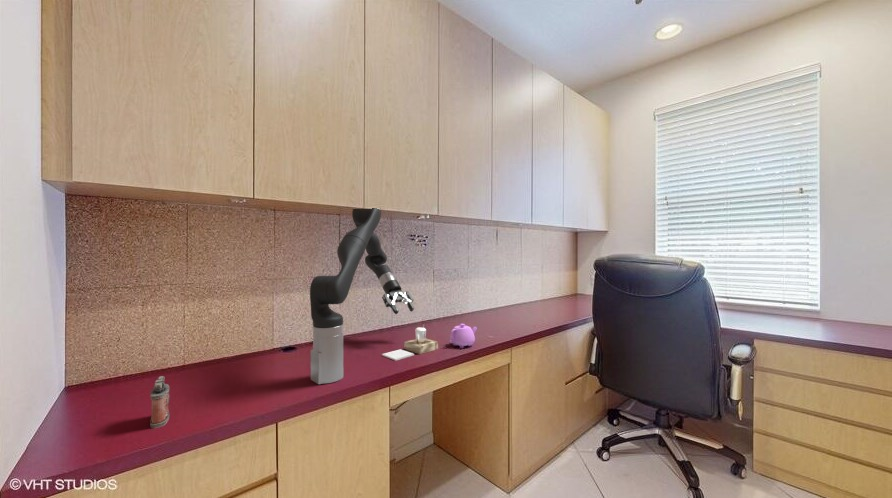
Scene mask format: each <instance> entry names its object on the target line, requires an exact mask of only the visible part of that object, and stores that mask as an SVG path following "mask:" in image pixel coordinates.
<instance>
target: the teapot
mask: <svg viewBox="0 0 892 498" xmlns="http://www.w3.org/2000/svg"><path fill="white" fill-rule="evenodd" d="M477 329H478V328H477V326H473V327H471V326H468V325H466V324H465V323H460V324H459V325H456V326H454V327H453V329H452V330H450V338H449V339H450V340H449V342H450V343H451V344H452V345H453V346H454V347H457V346H459V348H460V349H464V348H465V347H472V346H473V344H474V343H475V341H476V337H475V333H476V332H477Z"/></svg>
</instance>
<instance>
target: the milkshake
mask: <svg viewBox="0 0 892 498" xmlns="http://www.w3.org/2000/svg"><path fill="white" fill-rule="evenodd" d="M414 332H415V339H416V344H419V345H422V344H425V338H426V335H427V329H426V328H425V323H423V325H422V327H416V328H415V330H414Z"/></svg>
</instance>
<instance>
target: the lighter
mask: <svg viewBox="0 0 892 498" xmlns="http://www.w3.org/2000/svg"><path fill="white" fill-rule="evenodd" d="M165 380H166V379H165V376H163V375H161V376H159V377H158V378H157V379H156V380H155V382H154V385H153V386H154V387H153V388H152V390H151V391H150V392H149V393H150V400H151V418H150V425H149V426H150V429H157V428H161V427H164V426H165V425H166V424H167V423H168V422H169V419H170V411H169V402H170V393H169V392H170V385H169V384H168V383H165Z"/></svg>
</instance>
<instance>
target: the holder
mask: <svg viewBox="0 0 892 498" xmlns="http://www.w3.org/2000/svg"><path fill="white" fill-rule="evenodd" d="M403 344H404V345H403V346H404V349H403V350H405V351H408V352H411V353H414V354H419V355H422V354H425V353H428V352H433V351H435V350H438V349H439V341H436V340H433V339H429V338H427V337H425V344H422V345H419V344H416V338H415V339H412V340H406V341H404V343H403Z"/></svg>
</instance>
